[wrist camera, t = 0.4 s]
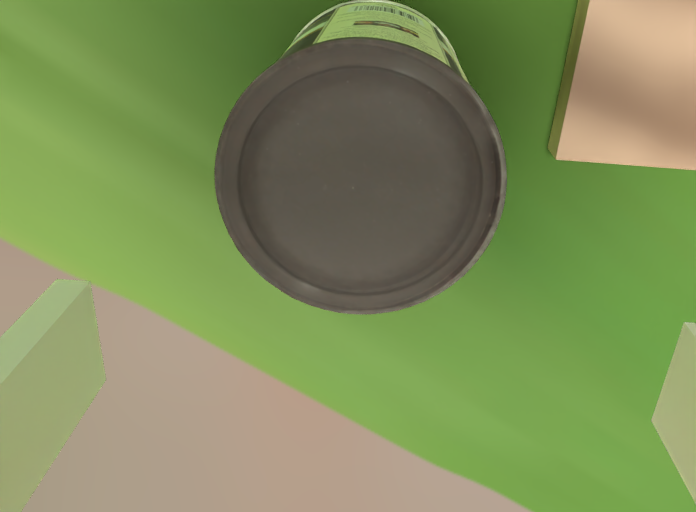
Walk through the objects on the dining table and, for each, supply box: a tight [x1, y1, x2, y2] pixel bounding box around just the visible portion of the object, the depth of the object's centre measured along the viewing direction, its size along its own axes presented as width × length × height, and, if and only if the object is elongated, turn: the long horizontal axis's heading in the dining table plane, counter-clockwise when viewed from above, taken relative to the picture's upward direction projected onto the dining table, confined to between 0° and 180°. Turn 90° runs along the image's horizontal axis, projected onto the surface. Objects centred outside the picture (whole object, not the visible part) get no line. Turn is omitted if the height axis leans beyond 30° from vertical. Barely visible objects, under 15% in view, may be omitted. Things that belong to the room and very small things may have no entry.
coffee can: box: [215, 0, 507, 314], centre depth 29 cm, size 10×10×14 cm
